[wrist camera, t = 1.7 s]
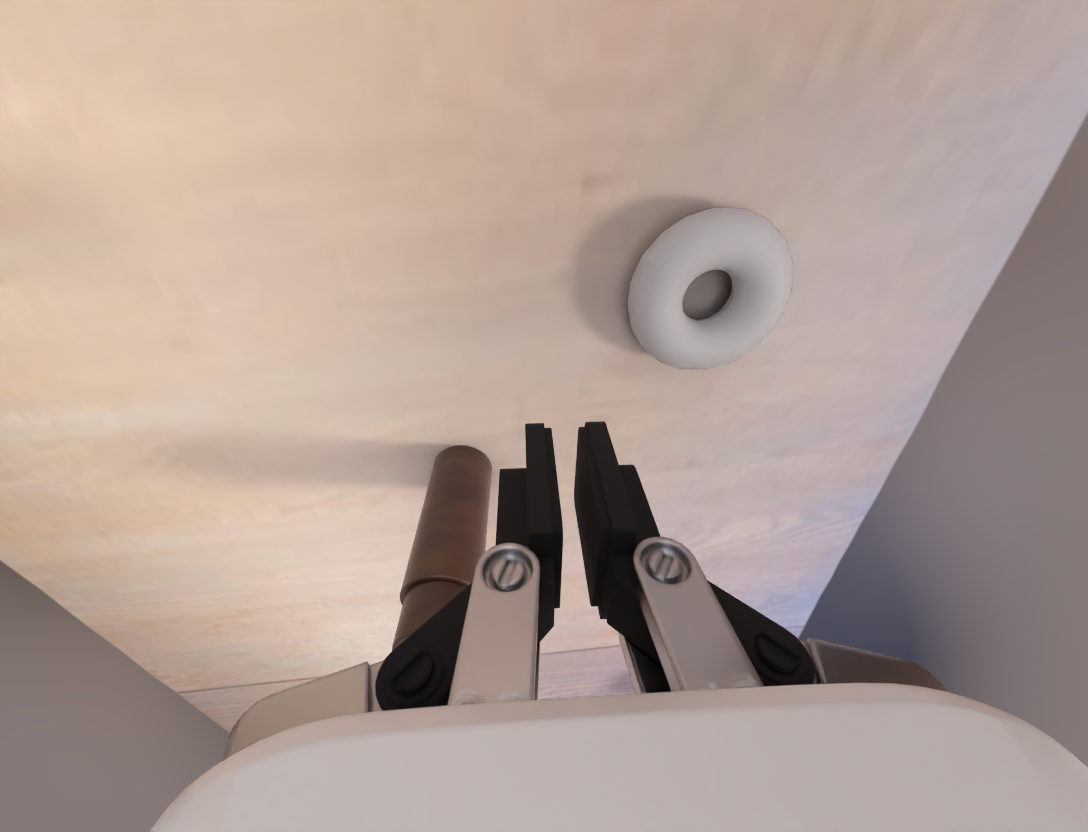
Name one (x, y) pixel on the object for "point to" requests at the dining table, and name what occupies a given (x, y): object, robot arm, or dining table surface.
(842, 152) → the dining table surface
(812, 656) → the robot arm
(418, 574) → the pepper mill
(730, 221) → the donut
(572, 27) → the dining table surface
